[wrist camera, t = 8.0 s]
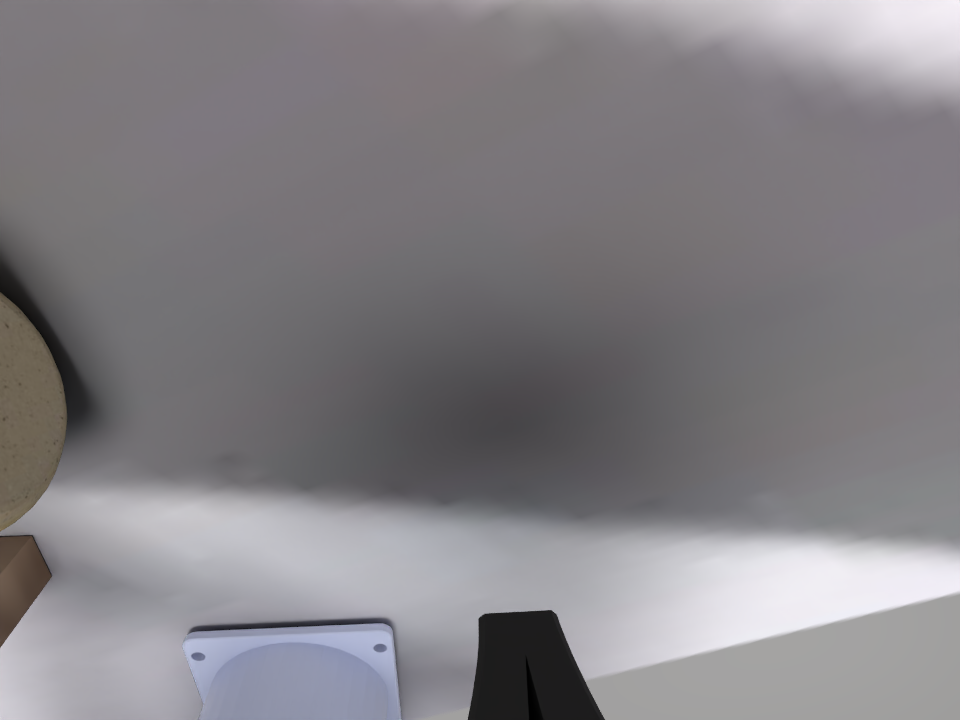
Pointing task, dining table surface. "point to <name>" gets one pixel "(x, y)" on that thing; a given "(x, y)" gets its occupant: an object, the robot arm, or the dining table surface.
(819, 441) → the dining table surface
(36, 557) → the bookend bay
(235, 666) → the robot arm
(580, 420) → the dining table surface
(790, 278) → the dining table surface
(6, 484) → the ceramic mug
